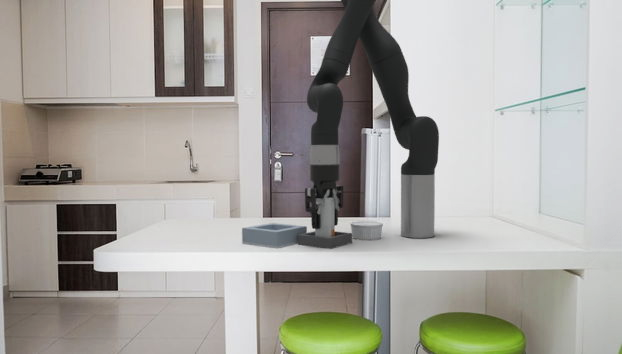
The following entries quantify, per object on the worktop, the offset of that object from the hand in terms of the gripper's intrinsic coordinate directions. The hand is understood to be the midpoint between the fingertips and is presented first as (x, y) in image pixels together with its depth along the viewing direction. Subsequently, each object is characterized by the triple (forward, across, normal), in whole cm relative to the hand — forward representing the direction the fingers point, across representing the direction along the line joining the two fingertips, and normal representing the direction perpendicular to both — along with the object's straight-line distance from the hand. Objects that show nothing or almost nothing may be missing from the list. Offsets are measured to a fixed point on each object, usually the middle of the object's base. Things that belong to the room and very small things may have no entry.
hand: (325, 226), depth 131 cm
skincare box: (+5, 0, 0) cm, 5 cm away
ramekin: (+5, +14, -4) cm, 15 cm away
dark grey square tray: (+4, 0, 0) cm, 4 cm away
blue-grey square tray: (+4, -6, +12) cm, 14 cm away
